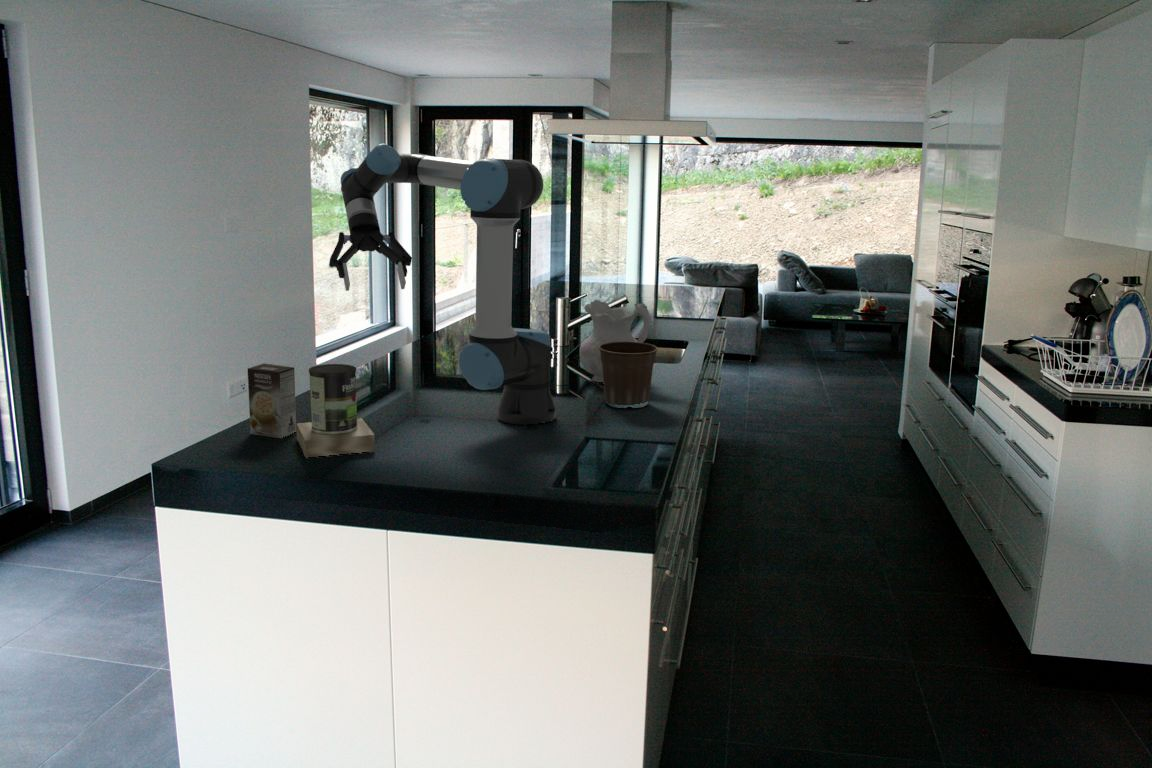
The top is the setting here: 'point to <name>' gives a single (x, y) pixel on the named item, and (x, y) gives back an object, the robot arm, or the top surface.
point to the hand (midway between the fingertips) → (376, 286)
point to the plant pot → (627, 371)
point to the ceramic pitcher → (609, 332)
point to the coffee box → (272, 400)
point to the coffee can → (333, 399)
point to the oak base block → (335, 441)
